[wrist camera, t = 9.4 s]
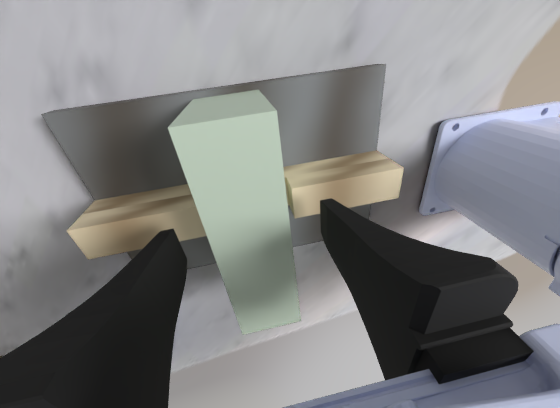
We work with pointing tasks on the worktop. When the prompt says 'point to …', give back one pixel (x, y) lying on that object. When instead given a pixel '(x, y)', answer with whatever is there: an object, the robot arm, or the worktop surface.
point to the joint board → (171, 179)
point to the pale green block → (242, 202)
